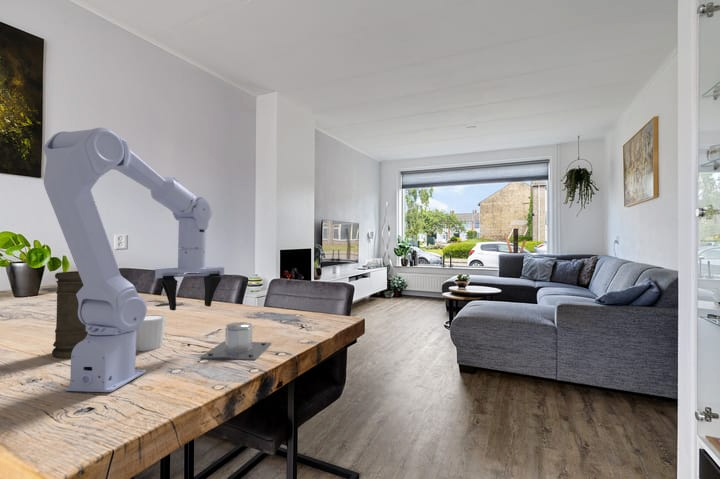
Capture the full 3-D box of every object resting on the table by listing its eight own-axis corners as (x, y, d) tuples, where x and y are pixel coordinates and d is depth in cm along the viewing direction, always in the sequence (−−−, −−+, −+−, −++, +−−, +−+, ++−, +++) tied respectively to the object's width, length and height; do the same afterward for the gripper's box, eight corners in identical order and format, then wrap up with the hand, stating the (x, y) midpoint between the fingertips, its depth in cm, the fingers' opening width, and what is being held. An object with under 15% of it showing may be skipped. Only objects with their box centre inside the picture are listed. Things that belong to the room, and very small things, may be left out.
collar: (254, 350, 82) (255, 325, 82) (229, 354, 79) (230, 329, 79) (246, 344, 87) (246, 321, 87) (222, 347, 83) (222, 323, 84)
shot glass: (125, 348, 83) (125, 318, 83) (153, 341, 89) (154, 313, 89) (142, 353, 80) (143, 322, 80) (171, 345, 86) (172, 316, 86)
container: (74, 360, 75) (76, 274, 75) (40, 356, 76) (42, 272, 77) (112, 347, 83) (114, 271, 84) (80, 345, 85) (82, 269, 85)
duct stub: (255, 359, 76) (255, 344, 76) (200, 358, 77) (201, 342, 77) (271, 344, 88) (271, 330, 88) (223, 342, 89) (224, 329, 89)
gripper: (216, 248, 90) (215, 302, 90) (152, 248, 80) (150, 308, 80) (228, 249, 85) (227, 306, 85) (160, 249, 75) (159, 313, 75)
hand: (190, 307), depth 82 cm, fingers open, 7 cm apart
